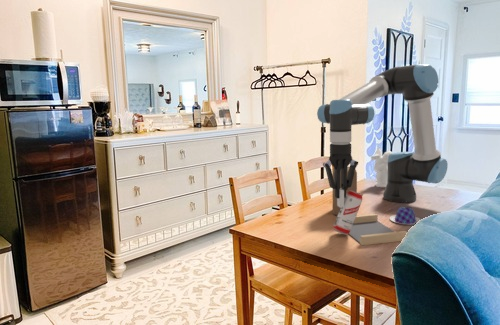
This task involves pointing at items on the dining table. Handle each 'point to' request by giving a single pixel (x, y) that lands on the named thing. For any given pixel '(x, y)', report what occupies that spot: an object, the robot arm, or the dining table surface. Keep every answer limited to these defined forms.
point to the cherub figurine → (381, 167)
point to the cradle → (373, 231)
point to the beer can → (348, 212)
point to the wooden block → (353, 188)
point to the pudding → (405, 216)
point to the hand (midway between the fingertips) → (340, 206)
